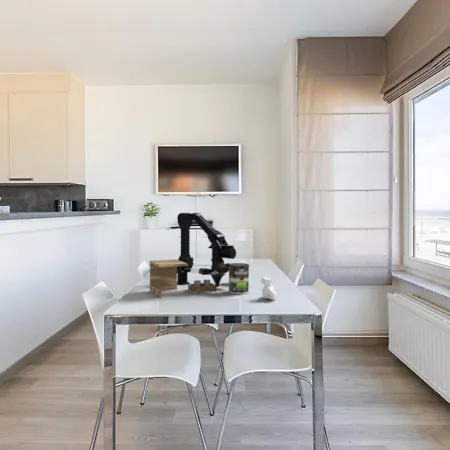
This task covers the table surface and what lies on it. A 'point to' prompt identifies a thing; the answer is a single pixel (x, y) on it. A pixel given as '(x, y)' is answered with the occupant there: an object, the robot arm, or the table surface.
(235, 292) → the coffee can
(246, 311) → the table surface
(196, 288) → the tray
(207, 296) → the table surface
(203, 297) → the table surface
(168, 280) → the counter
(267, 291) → the duck figurine
